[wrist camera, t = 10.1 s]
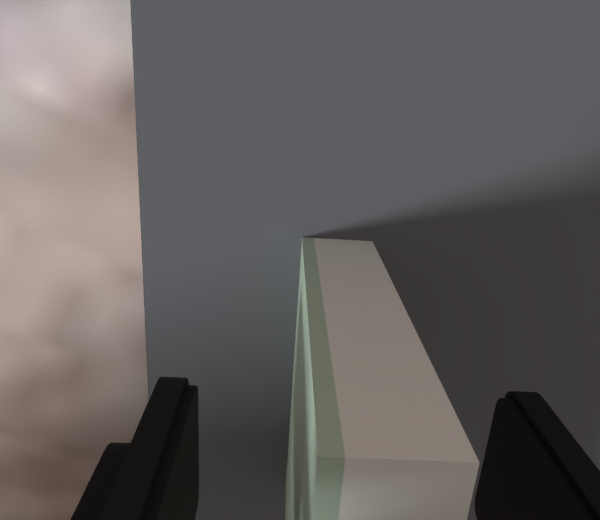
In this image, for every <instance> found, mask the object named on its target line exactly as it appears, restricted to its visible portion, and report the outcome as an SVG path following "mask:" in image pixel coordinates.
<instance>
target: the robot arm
mask: <svg viewBox="0 0 600 520" xmlns="http://www.w3.org/2000/svg"><path fill="white" fill-rule="evenodd" d="M198 498H199V421H198V386H197V385H189V381H188V378H183V377H159V379H158V380H157V383H156V385H155V387H154V390H153V392H152V395H151V397H150V399H149V402H148V404H147V406H146V409H145V411H144V413H143V416H142V418H141V420H140V423H139V425H138V427H137V430H136V432H135V434H134V437H133V439H132V441H131V443H110V444H109V445H108V446H107V447H106V449H105V451H104V453H103V455H102V457H101V459H100V461H99V463H98V465H97V467H96V469H95V471H94V473H93V475H92V477H91V479H90V481H89V483H88V485H87V487H86V489H85V491H84V494H83V496H82V498H81V500H80V502H79V504H78V506H77V508H76V510H75V512H74V514H73V516H72V518H71V520H195V517H196V512H197V507H198ZM475 513H476V517H477V520H600V471H599V469H598V468H597V467H596V465H595V464H594V463H593V462H592V460H591V459H590V458H589V456H588V455H587V454H586V453H585V451H584V450H583V449H582V447H581V446H580V445H579V444H578V442H577V441H576V440H575V438H574V437H573V436H572V434H571V433H570V432H569V431H568V429H567V428H566V427H565V425H564V424H563V423H562V422H561V420H560V419H559V418H558V416H557V415H556V414H555V412H554V411H553V410H552V409H551V407H550V406H549V405H548V403H547V402H546V401H545V400H544V398H543V397H542V396H541V395H540V394H539V393H537V392H522V391H509V392H507V394H506V395H505V397H504V398H499V399H498V400H497V403H496V406H495V411H494V415H493V420H492V424H491V429H490V433H489V438H488V442H487V447H486V451H485V456H484V460H483V465H482V469H481V474H480V478H479V483H478V487H477V492H476V496H475Z"/></svg>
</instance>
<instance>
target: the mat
mask: <svg viewBox="0 0 600 520" xmlns="http://www.w3.org/2000/svg"><path fill="white" fill-rule="evenodd" d="M131 22H132V44H133V66H134V88H135V110H136V131H137V153H138V175H139V197H140V219H141V241H142V263H143V284H144V306H145V328H146V350H147V372H148V394H149V399H150V397H151V395H152V392H153V390H154V387H155V385H156V383H157V380H158V379H159V377H183V378H188V381H189V385H197V386H198V421H199V498H198V507H197V512H196V517H195V520H285V502H286V474H287V458H288V443H289V428H290V413H291V398H292V382H293V367H294V352H295V337H296V322H297V306H298V291H299V276H300V261H301V246H302V237H306V238H325V239H343V240H362V241H373V243H374V245H375V247H376V249H377V252H378V254H379V256H380V258H381V260H382V262H383V264H384V266H385V268H386V270H387V272H388V274H389V276H390V278H391V280H392V283H393V285H394V287H395V289H396V291H397V293H398V295H399V297H400V299H401V301H402V303H403V305H404V307H405V309H406V311H407V314H408V316H409V318H410V320H411V322H412V324H413V326H414V328H415V330H416V332H417V334H418V336H419V338H420V340H421V342H422V345H423V347H424V349H425V351H426V353H427V355H428V357H429V359H430V361H431V363H432V365H433V367H434V369H435V371H436V373H437V376H438V378H439V380H440V382H441V384H442V386H443V388H444V390H445V392H446V394H447V396H448V398H449V400H450V402H451V404H452V407H453V409H454V411H455V413H456V415H457V417H458V419H459V421H460V423H461V425H462V427H463V429H464V431H465V433H466V435H467V438H468V440H469V442H470V444H471V446H472V448H473V450H474V452H475V454H476V456H477V458H478V460H479V462H480V463H479V468H478V472H477V477H476V481H475V486H474V490H473V495H472V499H471V504H470V508H469V513H468V517H467V520H477V517H476V513H475V496H476V492H477V487H478V483H479V478H480V474H481V469H482V465H483V460H484V456H485V451H486V447H487V442H488V438H489V433H490V429H491V424H492V420H493V415H494V411H495V406H496V403H497V400H498V399H499V398H504V397H505V395H506V394H507V392H509V391H522V392H537V393H539V394H540V395H541V396H542V397H543V398H544V400H545V401H546V402H547V403H548V405H549V406H550V407H551V409H552V410H553V411H554V412H555V414H556V415H557V416H558V418H559V419H560V420H561V422H562V423H563V424H564V425H565V427H566V428H567V429H568V431H569V432H570V433H571V434H572V436H573V437H574V438H575V440H576V441H577V442H578V444H579V445H580V446H581V447H582V449H583V450H584V451H585V453H586V454H587V455H588V456H589V458H590V459H591V460H592V462H593V463H594V464H595V465H596V467H597V468H598V469H599V471H600V0H131Z"/></svg>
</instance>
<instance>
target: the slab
mask: <svg viewBox="0 0 600 520" xmlns="http://www.w3.org/2000/svg"><path fill="white" fill-rule="evenodd" d="M479 463H480V462H479V460H478V458H477V456H476V454H475V452H474V450H473V448H472V446H471V444H470V442H469V440H468V438H467V435H466V433H465V431H464V429H463V427H462V425H461V423H460V421H459V419H458V417H457V415H456V413H455V411H454V409H453V407H452V404H451V402H450V400H449V398H448V396H447V394H446V392H445V390H444V388H443V386H442V384H441V382H440V380H439V378H438V376H437V373H436V371H435V369H434V367H433V365H432V363H431V361H430V359H429V357H428V355H427V353H426V351H425V349H424V347H423V345H422V342H421V340H420V338H419V336H418V334H417V332H416V330H415V328H414V326H413V324H412V322H411V320H410V318H409V316H408V314H407V311H406V309H405V307H404V305H403V303H402V301H401V299H400V297H399V295H398V293H397V291H396V289H395V287H394V285H393V283H392V280H391V278H390V276H389V274H388V272H387V270H386V268H385V266H384V264H383V262H382V260H381V258H380V256H379V254H378V252H377V249H376V247H375V245H374V243H373V241H362V240H343V239H325V238H306V237H302V246H301V261H300V276H299V291H298V306H297V322H296V337H295V352H294V367H293V382H292V398H291V413H290V428H289V443H288V458H287V474H286V502H285V520H467V517H468V513H469V508H470V504H471V499H472V495H473V490H474V486H475V481H476V477H477V472H478V468H479Z"/></svg>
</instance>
